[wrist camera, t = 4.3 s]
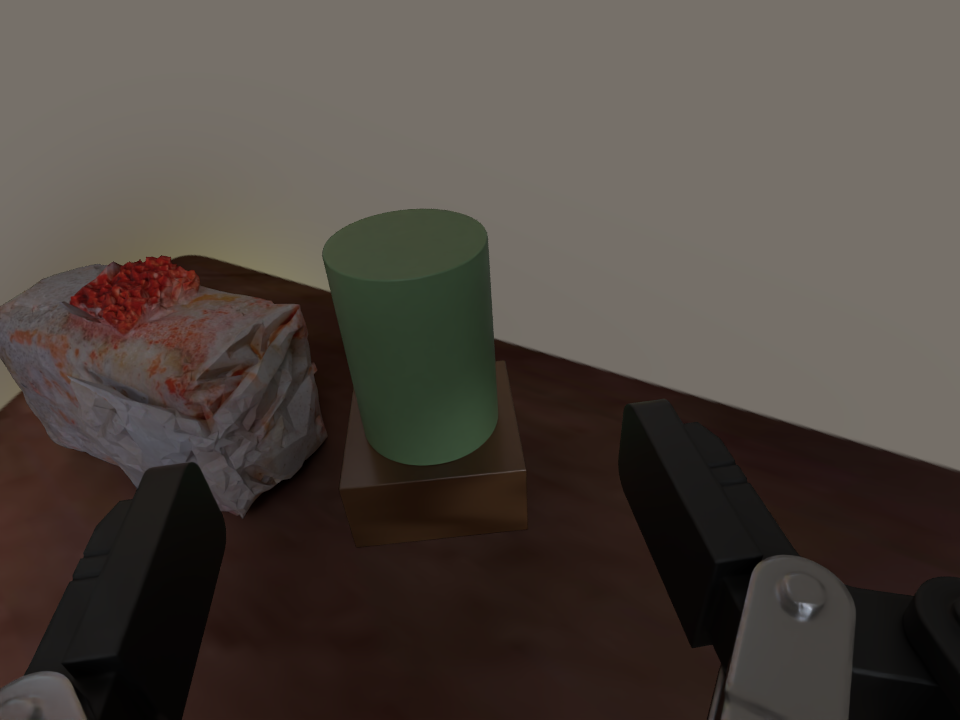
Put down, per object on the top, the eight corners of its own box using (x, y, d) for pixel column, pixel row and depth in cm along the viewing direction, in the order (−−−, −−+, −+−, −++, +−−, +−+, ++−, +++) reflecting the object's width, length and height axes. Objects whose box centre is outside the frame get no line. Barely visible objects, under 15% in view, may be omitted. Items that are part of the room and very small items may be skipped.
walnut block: (507, 416, 30) (505, 360, 28) (527, 529, 24) (526, 469, 22) (367, 430, 30) (354, 374, 28) (355, 548, 24) (338, 489, 22)
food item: (361, 430, 30) (317, 249, 24) (254, 559, 24) (162, 361, 18) (162, 376, 35) (85, 215, 29) (32, 473, 29) (-96, 295, 23)
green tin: (425, 362, 28) (402, 198, 24) (524, 404, 25) (520, 227, 21) (336, 430, 25) (287, 253, 20) (438, 488, 22) (409, 298, 17)
